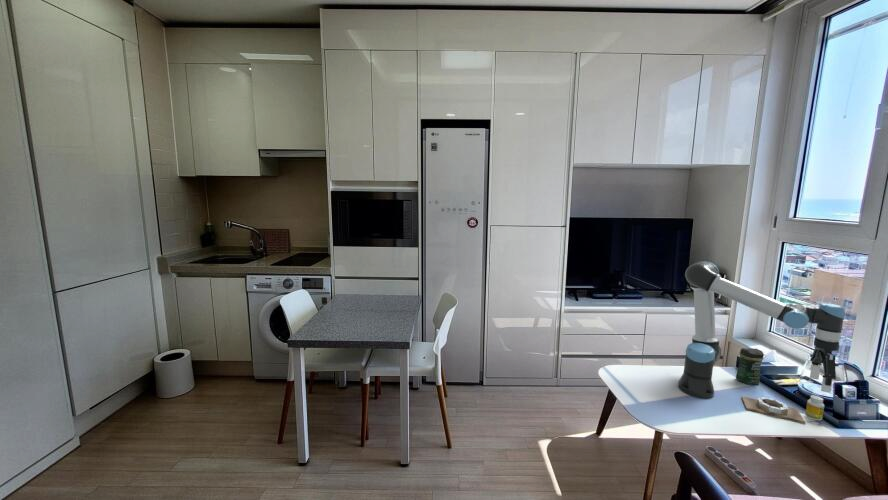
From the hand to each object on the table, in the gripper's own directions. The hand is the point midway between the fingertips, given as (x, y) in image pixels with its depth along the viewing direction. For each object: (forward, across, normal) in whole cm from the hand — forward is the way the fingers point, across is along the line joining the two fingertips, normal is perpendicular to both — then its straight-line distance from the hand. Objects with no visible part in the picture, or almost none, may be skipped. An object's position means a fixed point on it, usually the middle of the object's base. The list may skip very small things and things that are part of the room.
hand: (819, 385), depth 160 cm
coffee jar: (+16, +26, +19) cm, 36 cm away
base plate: (+16, -3, +15) cm, 22 cm away
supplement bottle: (+16, 0, 0) cm, 16 cm away
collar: (+16, -3, +15) cm, 22 cm away
